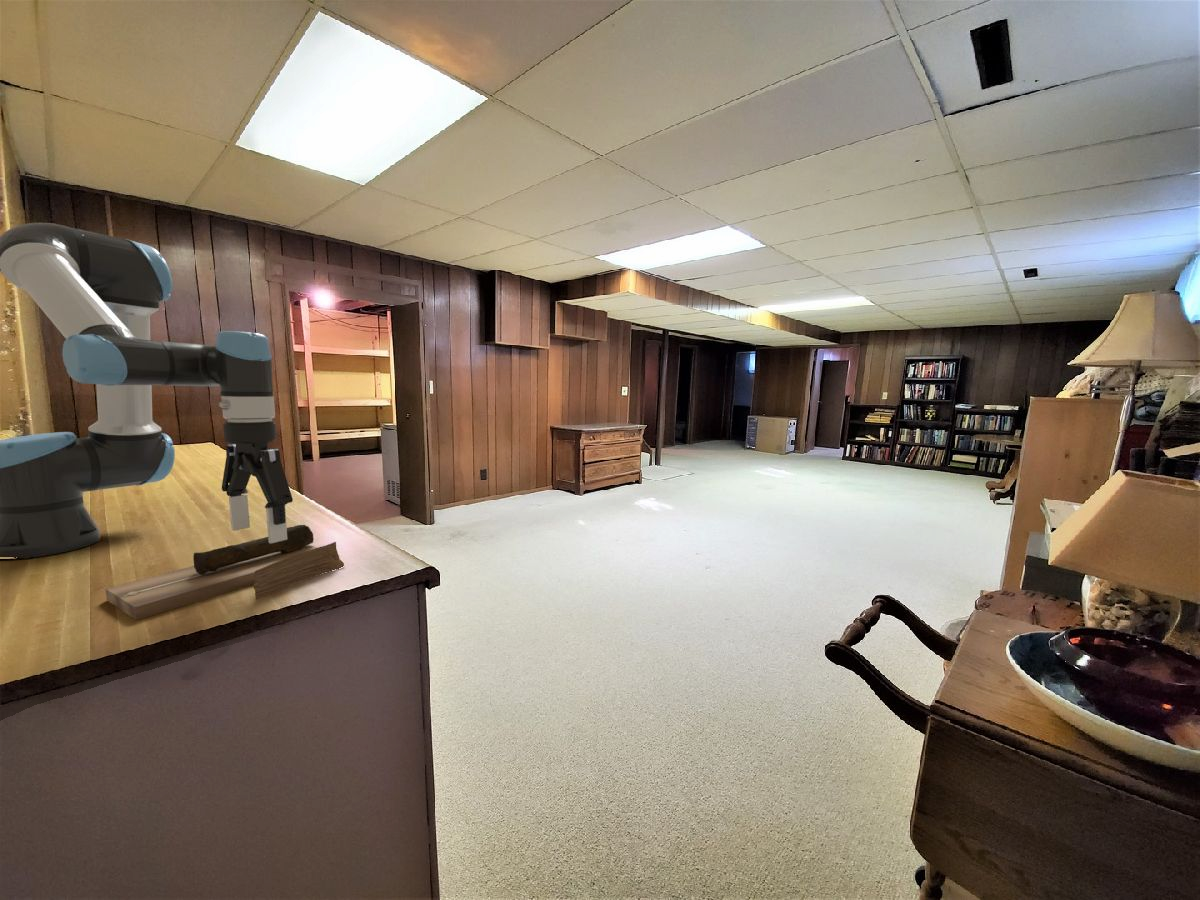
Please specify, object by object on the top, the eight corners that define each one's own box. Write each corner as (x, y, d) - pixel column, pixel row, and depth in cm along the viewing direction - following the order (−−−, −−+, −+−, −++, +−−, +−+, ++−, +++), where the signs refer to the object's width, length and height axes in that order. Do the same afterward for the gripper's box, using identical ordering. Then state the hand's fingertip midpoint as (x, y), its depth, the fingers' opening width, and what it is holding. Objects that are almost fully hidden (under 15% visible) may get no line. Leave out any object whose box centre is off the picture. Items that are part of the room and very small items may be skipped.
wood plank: (261, 601, 74) (259, 571, 73) (252, 599, 75) (250, 569, 74) (344, 567, 88) (342, 542, 88) (336, 566, 89) (334, 541, 88)
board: (106, 600, 73) (105, 587, 73) (294, 549, 97) (294, 539, 97) (136, 620, 67) (134, 606, 67) (328, 560, 91) (327, 550, 91)
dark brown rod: (201, 578, 77) (199, 552, 76) (192, 572, 79) (190, 546, 78) (320, 547, 93) (319, 525, 92) (310, 543, 95) (309, 521, 94)
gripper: (192, 417, 86) (203, 528, 88) (262, 425, 74) (271, 553, 76) (240, 416, 92) (248, 519, 95) (310, 422, 80) (317, 540, 83)
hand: (258, 535), depth 86 cm, fingers open, 13 cm apart
